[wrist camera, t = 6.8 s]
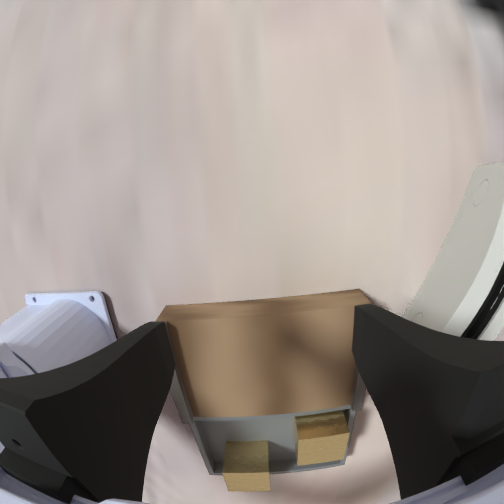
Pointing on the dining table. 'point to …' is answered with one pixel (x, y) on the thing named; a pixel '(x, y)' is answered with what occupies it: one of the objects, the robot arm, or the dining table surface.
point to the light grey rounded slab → (468, 265)
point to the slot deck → (264, 355)
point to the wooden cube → (246, 466)
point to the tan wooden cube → (320, 437)
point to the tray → (259, 438)
